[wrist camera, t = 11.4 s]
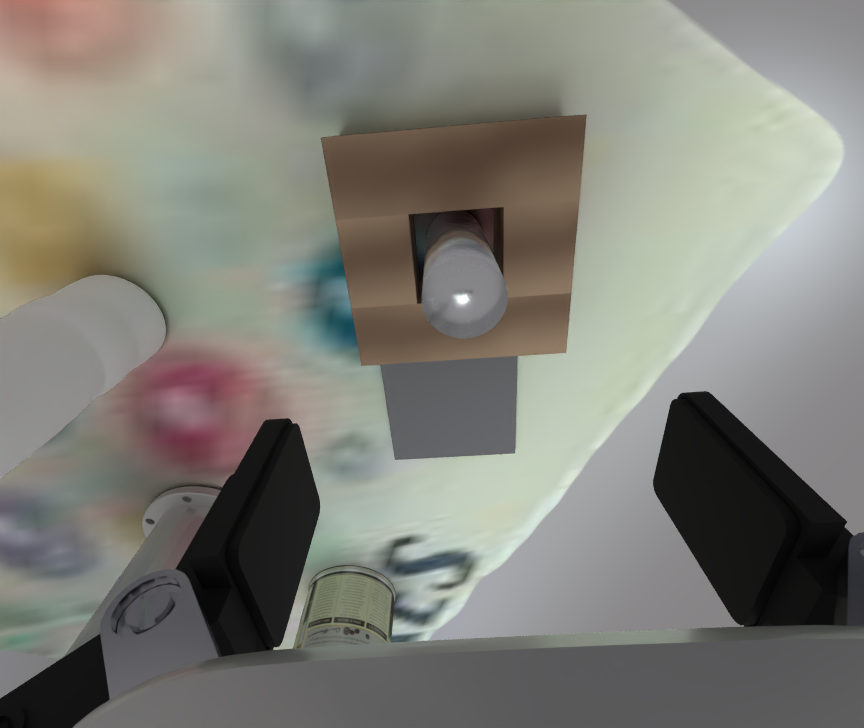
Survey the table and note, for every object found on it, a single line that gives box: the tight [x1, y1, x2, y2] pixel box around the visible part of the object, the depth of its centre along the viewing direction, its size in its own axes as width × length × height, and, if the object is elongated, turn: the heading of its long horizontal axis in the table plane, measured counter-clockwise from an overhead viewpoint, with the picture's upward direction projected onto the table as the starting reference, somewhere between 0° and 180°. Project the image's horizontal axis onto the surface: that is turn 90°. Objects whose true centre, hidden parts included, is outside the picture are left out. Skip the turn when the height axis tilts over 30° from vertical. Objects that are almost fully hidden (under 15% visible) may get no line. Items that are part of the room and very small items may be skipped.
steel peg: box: [422, 210, 508, 338], centre depth 25 cm, size 4×4×12 cm
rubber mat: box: [381, 356, 517, 460], centre depth 37 cm, size 11×11×1 cm
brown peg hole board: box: [321, 115, 586, 366], centre depth 28 cm, size 14×14×5 cm
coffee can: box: [293, 566, 395, 649], centre depth 44 cm, size 10×10×14 cm
